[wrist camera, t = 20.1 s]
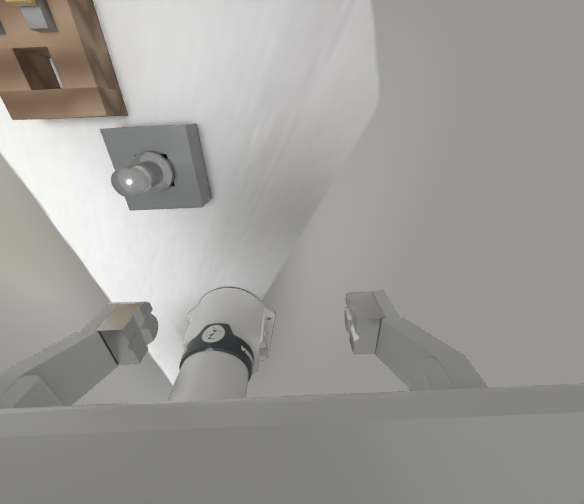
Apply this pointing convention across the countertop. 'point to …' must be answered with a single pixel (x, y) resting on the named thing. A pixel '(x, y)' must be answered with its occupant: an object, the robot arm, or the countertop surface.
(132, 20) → the countertop surface
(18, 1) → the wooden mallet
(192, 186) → the grey square holed piece
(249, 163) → the countertop surface
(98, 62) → the socket block
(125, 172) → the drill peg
